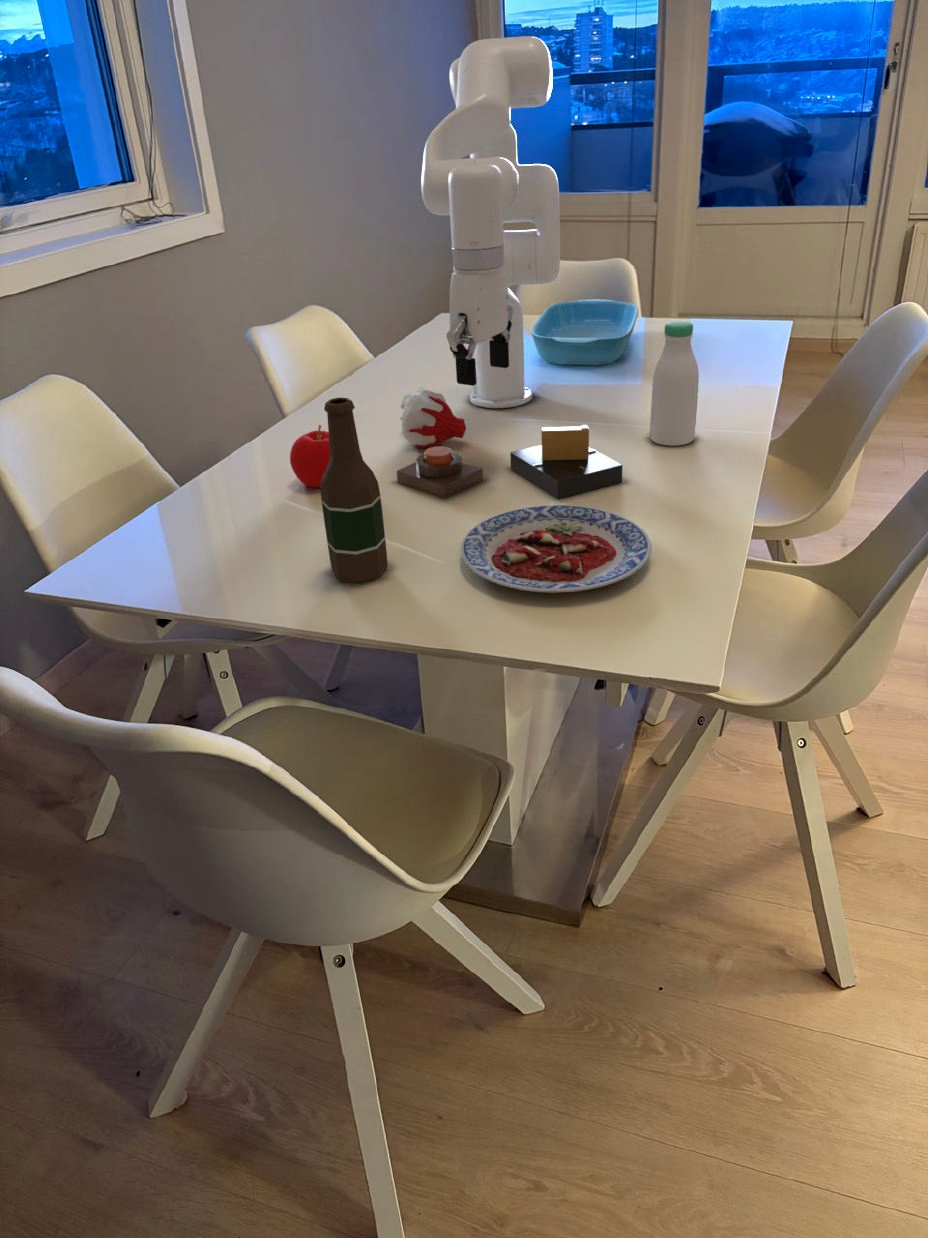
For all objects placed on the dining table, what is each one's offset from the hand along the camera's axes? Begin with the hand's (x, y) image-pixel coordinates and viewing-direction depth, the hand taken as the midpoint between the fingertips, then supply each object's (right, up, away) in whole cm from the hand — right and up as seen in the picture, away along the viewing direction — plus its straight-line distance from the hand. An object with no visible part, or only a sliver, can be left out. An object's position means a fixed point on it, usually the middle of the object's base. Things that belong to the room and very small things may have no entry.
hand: (483, 375), depth 146 cm
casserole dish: (+25, +25, +73) cm, 81 cm away
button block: (-7, -15, +9) cm, 19 cm away
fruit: (-27, -15, +12) cm, 33 cm away
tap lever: (+13, -12, +7) cm, 19 cm away
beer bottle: (-17, -31, -16) cm, 39 cm away
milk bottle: (+34, -6, +20) cm, 40 cm away
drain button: (-7, -12, +7) cm, 16 cm away
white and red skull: (-9, -6, +25) cm, 27 cm away
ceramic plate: (+10, -30, -16) cm, 35 cm away
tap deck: (+14, -14, +9) cm, 21 cm away
